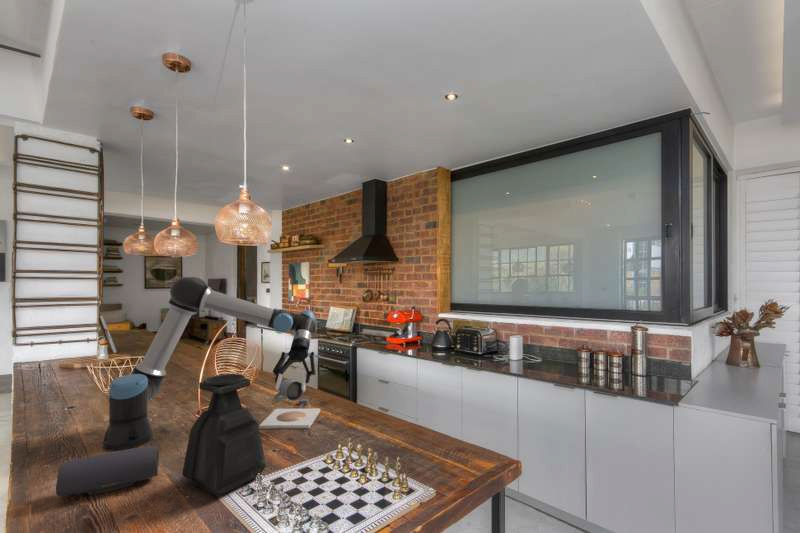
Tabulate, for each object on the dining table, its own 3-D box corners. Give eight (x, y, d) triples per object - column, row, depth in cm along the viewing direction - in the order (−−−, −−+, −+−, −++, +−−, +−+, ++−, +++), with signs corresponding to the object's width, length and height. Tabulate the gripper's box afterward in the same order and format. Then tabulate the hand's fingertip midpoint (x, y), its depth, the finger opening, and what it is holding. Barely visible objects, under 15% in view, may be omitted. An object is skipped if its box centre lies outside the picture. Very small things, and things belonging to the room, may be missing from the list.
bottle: (180, 484, 114) (181, 380, 115) (232, 461, 128) (232, 369, 129) (215, 503, 104) (216, 389, 105) (267, 476, 118) (267, 376, 119)
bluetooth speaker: (158, 471, 122) (159, 439, 122) (156, 485, 114) (156, 450, 114) (64, 491, 111) (65, 455, 111) (54, 508, 103) (55, 469, 103)
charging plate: (309, 428, 156) (309, 423, 156) (259, 428, 156) (259, 423, 156) (325, 403, 187) (325, 398, 187) (283, 403, 187) (283, 399, 187)
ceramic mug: (295, 394, 162) (294, 375, 162) (304, 398, 156) (303, 379, 156) (270, 400, 155) (269, 380, 155) (278, 405, 149) (278, 385, 149)
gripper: (328, 347, 172) (319, 394, 156) (277, 347, 173) (264, 394, 157) (325, 337, 167) (316, 385, 151) (273, 337, 168) (259, 385, 152)
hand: (289, 390), depth 154 cm, fingers closed on ceramic mug, 10 cm apart
